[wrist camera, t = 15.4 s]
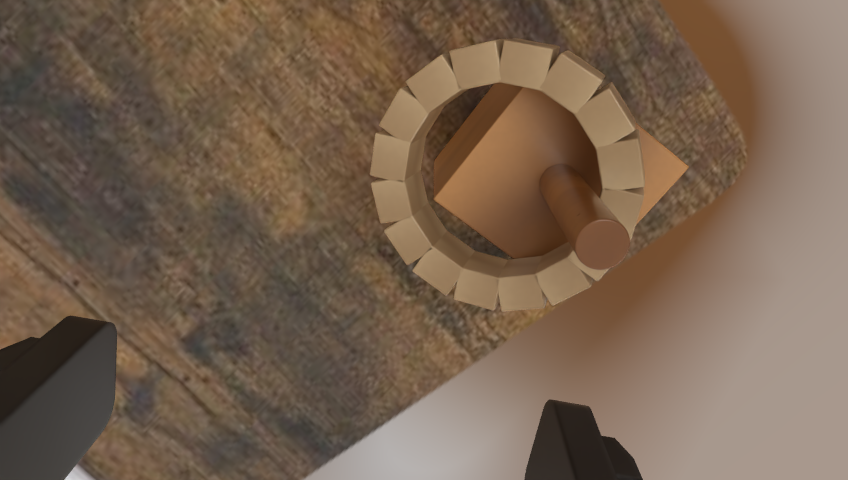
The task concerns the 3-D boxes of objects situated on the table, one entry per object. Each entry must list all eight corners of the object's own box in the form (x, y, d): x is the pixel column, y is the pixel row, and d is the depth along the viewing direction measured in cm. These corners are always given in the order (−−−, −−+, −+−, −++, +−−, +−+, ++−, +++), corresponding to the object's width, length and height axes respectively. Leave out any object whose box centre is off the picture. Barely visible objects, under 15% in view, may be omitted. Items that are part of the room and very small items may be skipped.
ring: (345, 133, 31) (323, 142, 29) (550, -19, 26) (541, -22, 24) (475, 328, 32) (463, 350, 30) (695, 216, 27) (699, 233, 25)
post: (637, 134, 36) (780, 223, 21) (542, 242, 38) (610, 393, 23) (525, 42, 35) (593, 68, 20) (433, 160, 37) (431, 265, 22)
